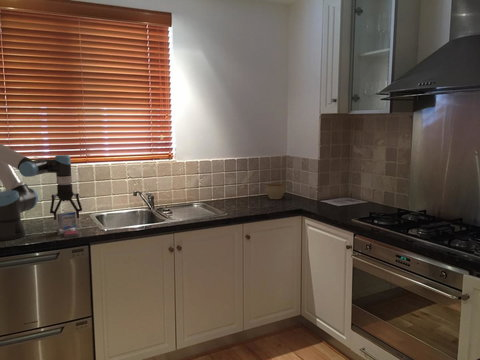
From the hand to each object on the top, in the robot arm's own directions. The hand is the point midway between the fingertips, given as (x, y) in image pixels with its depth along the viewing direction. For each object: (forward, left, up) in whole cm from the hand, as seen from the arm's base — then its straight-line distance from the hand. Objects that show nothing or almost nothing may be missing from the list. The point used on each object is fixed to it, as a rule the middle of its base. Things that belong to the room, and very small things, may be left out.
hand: (67, 224), depth 227 cm
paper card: (0, 0, -3) cm, 3 cm away
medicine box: (0, 0, -2) cm, 2 cm away
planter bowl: (+146, +42, -4) cm, 152 cm away
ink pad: (+2, -11, -3) cm, 11 cm away
